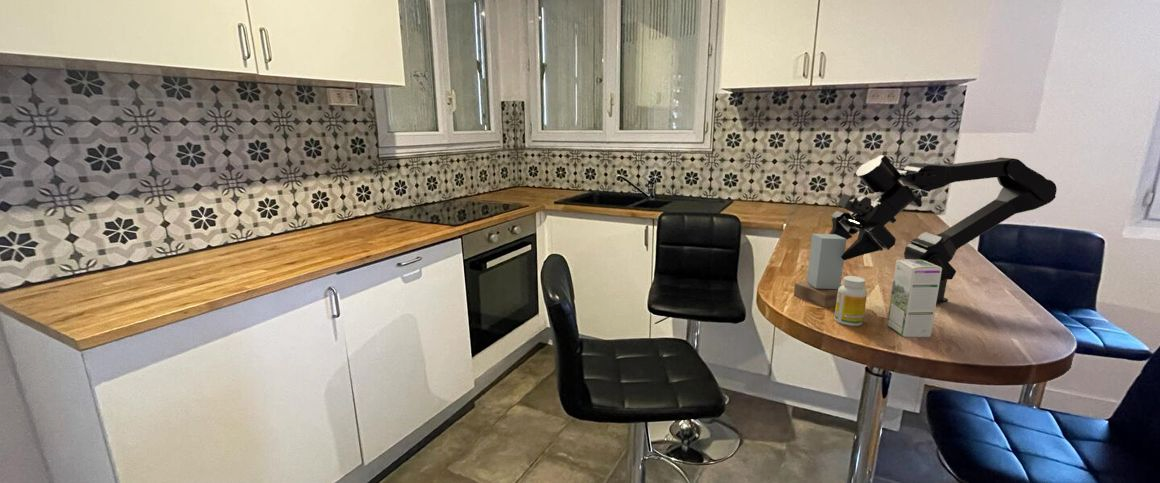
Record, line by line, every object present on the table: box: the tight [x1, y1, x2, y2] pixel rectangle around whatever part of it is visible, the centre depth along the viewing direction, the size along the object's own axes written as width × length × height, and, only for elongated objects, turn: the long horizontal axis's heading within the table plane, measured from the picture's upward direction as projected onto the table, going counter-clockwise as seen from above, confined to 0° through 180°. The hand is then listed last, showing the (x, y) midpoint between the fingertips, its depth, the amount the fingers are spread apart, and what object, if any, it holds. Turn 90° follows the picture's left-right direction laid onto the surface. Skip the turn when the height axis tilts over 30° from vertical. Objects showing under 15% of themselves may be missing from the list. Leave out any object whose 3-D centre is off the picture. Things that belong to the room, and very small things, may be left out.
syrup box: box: [886, 258, 942, 338], centre depth 97 cm, size 6×6×14 cm
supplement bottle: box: [833, 275, 868, 327], centre depth 103 cm, size 5×5×10 cm
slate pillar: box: [806, 233, 848, 289], centre depth 116 cm, size 6×6×12 cm
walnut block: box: [793, 280, 843, 309], centre depth 117 cm, size 9×9×4 cm
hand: (832, 253), depth 115 cm, fingers open, 9 cm apart
